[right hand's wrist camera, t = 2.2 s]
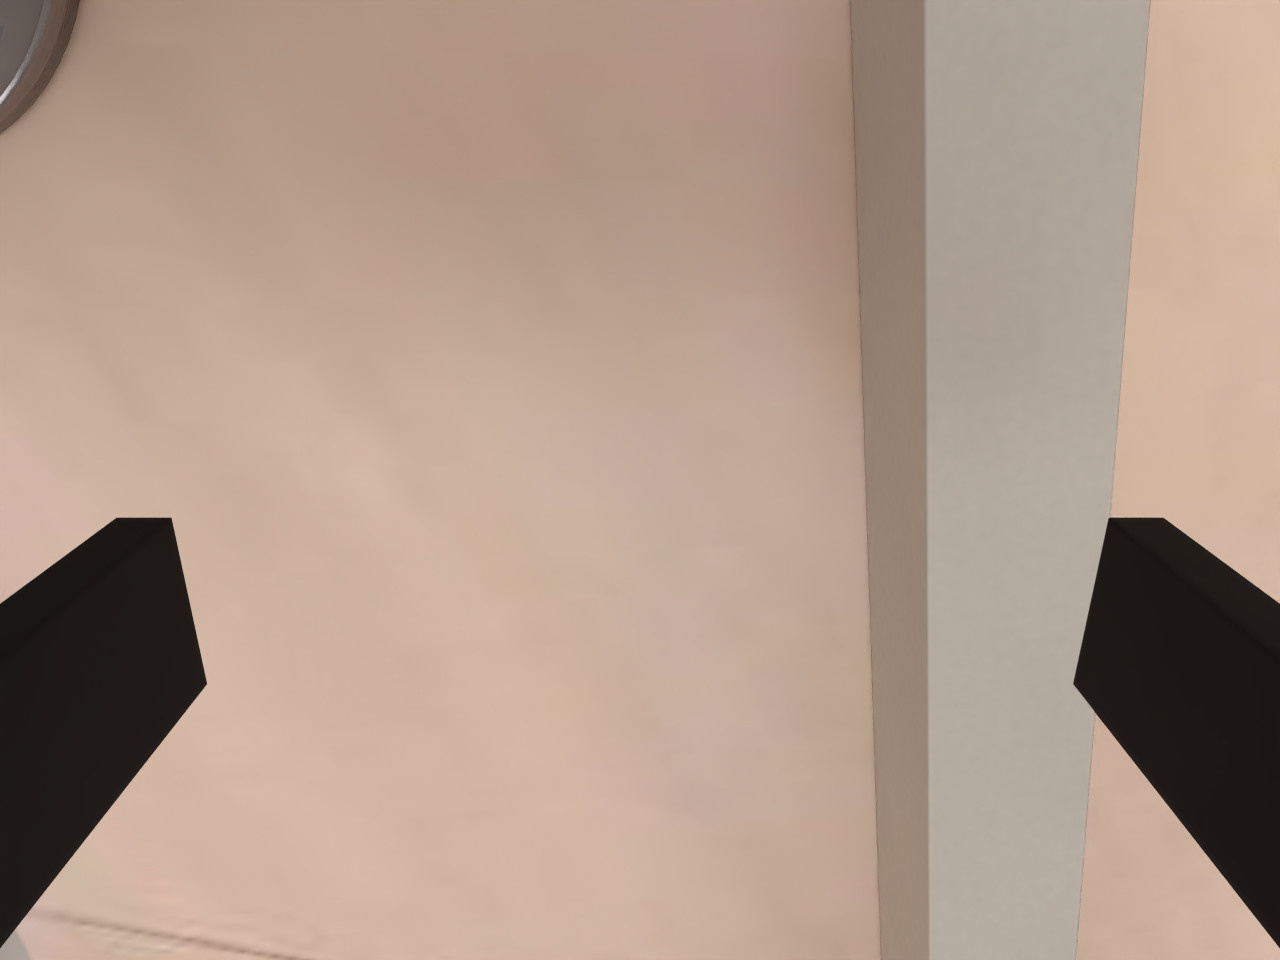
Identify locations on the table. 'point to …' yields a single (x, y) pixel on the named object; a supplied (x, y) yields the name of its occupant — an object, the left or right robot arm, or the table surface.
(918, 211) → the beam
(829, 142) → the table surface
